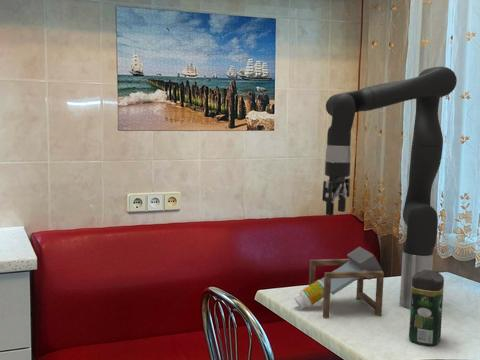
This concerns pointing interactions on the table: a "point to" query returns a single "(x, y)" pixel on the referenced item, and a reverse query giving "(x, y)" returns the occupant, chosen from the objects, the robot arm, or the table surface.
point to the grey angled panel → (354, 268)
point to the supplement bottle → (310, 294)
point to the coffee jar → (426, 307)
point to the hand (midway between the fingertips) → (335, 213)
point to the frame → (357, 274)
